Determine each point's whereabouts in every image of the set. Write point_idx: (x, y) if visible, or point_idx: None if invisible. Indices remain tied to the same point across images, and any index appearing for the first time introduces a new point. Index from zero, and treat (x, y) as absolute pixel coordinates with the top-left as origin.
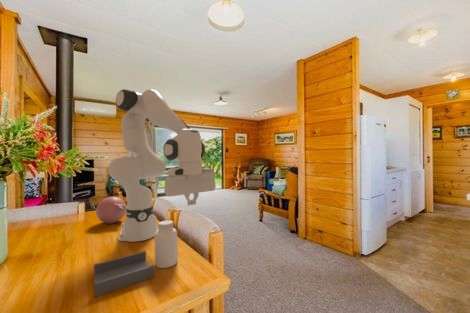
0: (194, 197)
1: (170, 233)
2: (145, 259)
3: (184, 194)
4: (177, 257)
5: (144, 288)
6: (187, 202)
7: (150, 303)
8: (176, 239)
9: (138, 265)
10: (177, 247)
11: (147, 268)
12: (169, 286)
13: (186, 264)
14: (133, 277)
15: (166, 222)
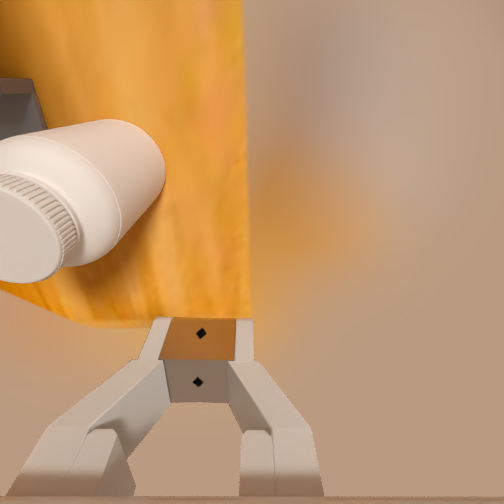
0: (245, 413)
1: (71, 265)
2: (26, 93)
3: (20, 476)
4: (158, 194)
5: None
6: (147, 336)
7: (74, 311)
8: (126, 232)
9: (5, 125)
10: (149, 199)
11: None
12: (119, 286)
13: (189, 218)
14: None
15: (5, 242)
